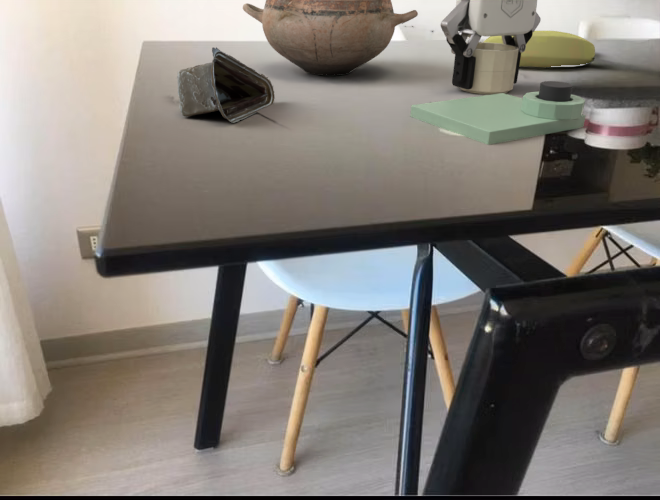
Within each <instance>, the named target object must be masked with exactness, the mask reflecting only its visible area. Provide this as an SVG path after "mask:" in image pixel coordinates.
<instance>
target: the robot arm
mask: <svg viewBox="0 0 660 500" xmlns="http://www.w3.org/2000/svg"><path fill="white" fill-rule="evenodd" d="M537 6H538V0H456V2H455V7H454V8H453V9H452V10H451V11H450V12H449V13H448V14H447V15H446V16H445V17H444V19H442V20H441V21H440V28H441V29H442V30H441V31H442V33H443V34H444V37H446V39H445V41H446V42H447V44H448V45H449V47H450V49H451V50H450V51H451V54H453V55H454V62H453V70H452V80H451V81H452V82H451V84H452V86H453V87H457V88H459V89H460V88H464V89H471V88H472V86H473V79H474V71H475V63H476V57H473V56H472V54H473V52H474V50H475V48H476V46H477V44H478V42H480V40H481V38H482V37H490V36H502V40H503V44H508V45H513V46H516V47H518V49H519V50H518V57H517V63H516V69H515V77H514V83H513V85H514V84H517V83H518V77H519V70H520V66H519V65H520V59H521V53H520V52H524V51H525V49H526V44H527V43H528V41H529V40H530V39H531V37H532V35H533V32H534V31H536V29H537V28H538V26H539V25H540V23H541V17H540V15H539V14H538V11H537ZM512 36H513V38H512ZM468 38H469V39H468Z"/></svg>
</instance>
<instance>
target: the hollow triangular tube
mask: <svg viewBox="0 0 660 500" xmlns="http://www.w3.org/2000/svg"><path fill="white" fill-rule="evenodd" d="M211 52H212V57H213V59H212V60H211V61H212V62H207V63H204V64H198V65H195V66H193V67H192V66H191V67H186V68H182V69H180V70H178V72H177V95H178V98H179V110H180V113H181V115H182V116H183V117H192V116H196V115H204V114H209V113H211V112H212V113H213V112H218V111H219V112H220V114H221V115H222V117H223V118H224V119H226V120H227V121H228V122H231V123H236V122H240V120H241V121H242V120H245V119H246V118H249V117H250V116H253V115H255V114H257V113H258V112H259V111H261V110H263V109H264V108H268V107H269V106H272V105H274V102H275V99H276V97H275V90H274V85H273V84H272V81H271V80H270V79H269V76H265V75H264V74H263V73H258V72H257V71H256V70H255V69H253V68H252V67H249V66H248V65H246V64H245V63H243V62H242V61H240V60H239V59H236V58H235V57H233V56H232V55H231V54H228V53H226V52H224V51H222V50H221V49H220V48H218V47H217V46H216V47H212V48H211Z"/></svg>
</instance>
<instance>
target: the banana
mask: <svg viewBox="0 0 660 500" xmlns="http://www.w3.org/2000/svg"><path fill="white" fill-rule="evenodd" d="M512 38H513V36H512ZM483 42H488V43H501V44H503V40H502V36H488V37H487V38H486V39H485V40H483ZM520 53H521V59H520V65H519V67H527V68H529V67H530V68H531V67H533V68H546V67H551V66H561V65H580V64H586V63H589V64H591V63H592V62H594V60H595V56H596V46H595V44H593V42H591V41H589V40H587V39H586V38H584V37H583V36H582V37H581V36H579V35H577V34H573V33H569V32H564V31H560V30H559V31H558V30H535V31H534V32H533V35H532V37H531V39H530V40H529V41H528V43H527V44H526V49H525V51H524V52H520Z"/></svg>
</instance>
